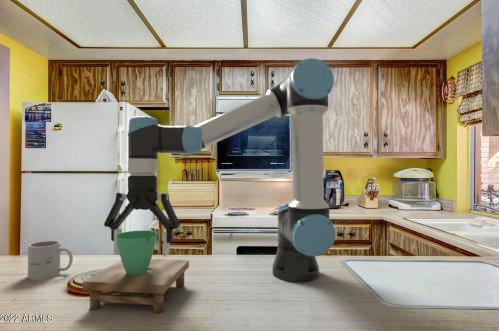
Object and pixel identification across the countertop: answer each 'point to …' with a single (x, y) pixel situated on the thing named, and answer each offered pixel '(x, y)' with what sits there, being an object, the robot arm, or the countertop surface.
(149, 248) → the green cup
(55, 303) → the countertop surface
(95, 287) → the stool
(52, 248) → the mug
